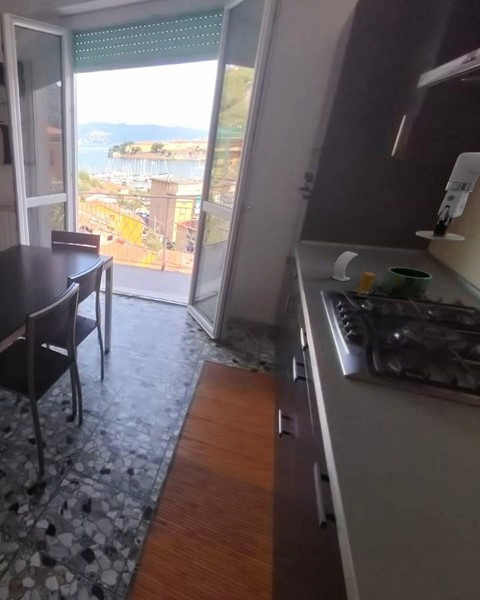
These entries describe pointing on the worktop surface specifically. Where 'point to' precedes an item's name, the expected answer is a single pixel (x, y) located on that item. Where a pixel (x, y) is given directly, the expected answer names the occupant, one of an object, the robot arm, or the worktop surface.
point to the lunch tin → (406, 282)
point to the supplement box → (366, 283)
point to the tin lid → (444, 237)
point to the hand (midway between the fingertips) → (440, 233)
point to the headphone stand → (342, 265)
